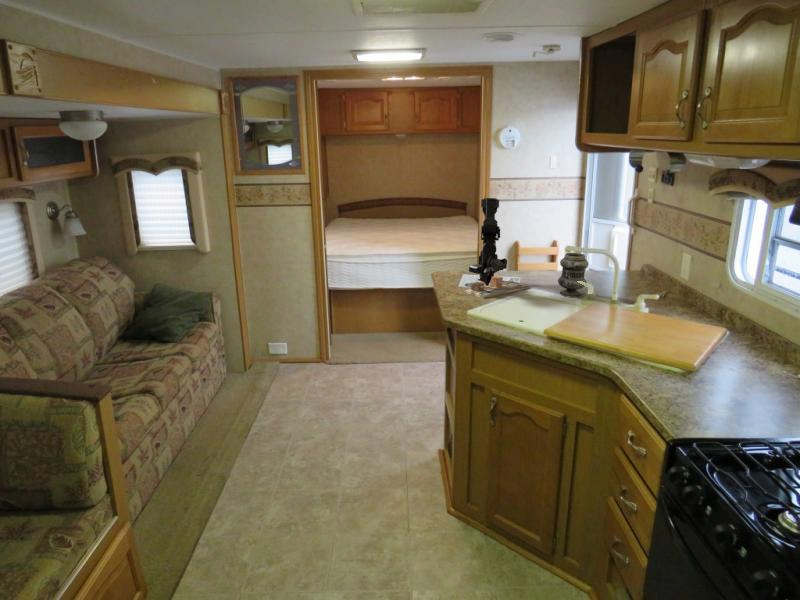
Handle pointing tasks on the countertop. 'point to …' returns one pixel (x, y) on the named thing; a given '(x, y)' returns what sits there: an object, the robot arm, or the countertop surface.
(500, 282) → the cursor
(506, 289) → the beam board
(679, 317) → the countertop surface
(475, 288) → the fixed point
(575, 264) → the apothecary jar
